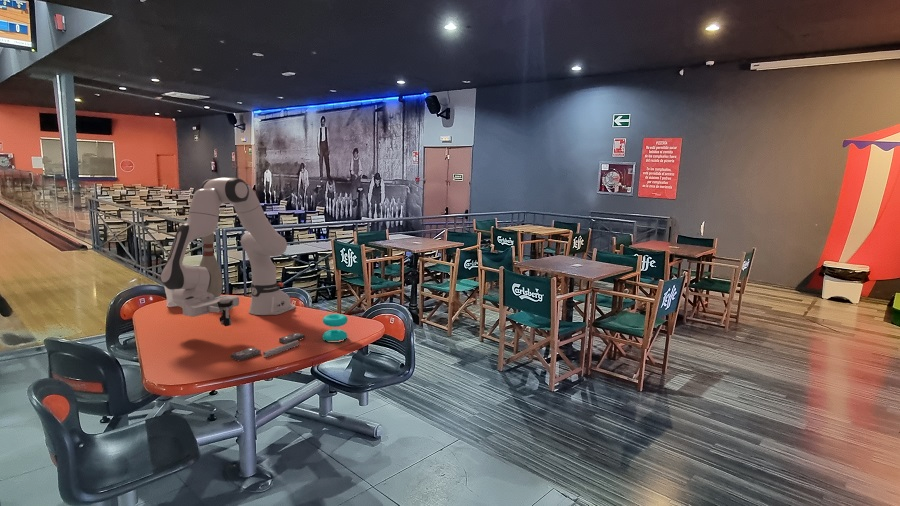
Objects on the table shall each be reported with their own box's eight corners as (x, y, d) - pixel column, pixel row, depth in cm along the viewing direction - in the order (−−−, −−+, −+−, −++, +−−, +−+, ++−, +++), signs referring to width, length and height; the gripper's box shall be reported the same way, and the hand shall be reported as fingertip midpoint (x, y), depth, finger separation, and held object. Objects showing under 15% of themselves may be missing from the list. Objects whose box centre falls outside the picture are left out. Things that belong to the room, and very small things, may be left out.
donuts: (318, 318, 195) (329, 312, 204) (318, 342, 196) (329, 334, 206) (341, 321, 192) (351, 314, 202) (340, 344, 194) (351, 337, 204)
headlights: (296, 336, 202) (296, 331, 201) (312, 340, 197) (312, 336, 197) (230, 358, 175) (230, 353, 175) (248, 364, 170) (248, 358, 170)
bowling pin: (192, 305, 240) (189, 229, 234) (207, 300, 251) (205, 227, 245) (212, 307, 238) (210, 231, 232) (227, 301, 249) (225, 228, 243)
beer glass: (174, 308, 234) (172, 277, 232) (161, 306, 235) (160, 276, 233) (184, 304, 241) (183, 275, 238) (172, 303, 242) (171, 274, 240)
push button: (213, 323, 187) (212, 298, 185) (227, 320, 191) (226, 296, 189) (222, 327, 183) (221, 302, 181) (235, 324, 187) (235, 299, 185)
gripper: (227, 304, 202) (249, 310, 195) (179, 316, 184) (201, 323, 177) (226, 289, 200) (248, 295, 194) (178, 300, 183) (200, 306, 176)
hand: (225, 308), depth 185 cm, fingers closed on push button, 3 cm apart
